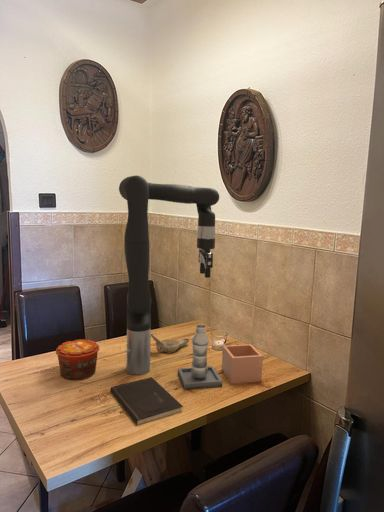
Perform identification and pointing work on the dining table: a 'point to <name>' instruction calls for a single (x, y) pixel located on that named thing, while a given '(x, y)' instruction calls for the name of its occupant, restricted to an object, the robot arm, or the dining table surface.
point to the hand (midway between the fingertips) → (204, 275)
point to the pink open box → (242, 363)
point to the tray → (193, 383)
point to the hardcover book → (145, 400)
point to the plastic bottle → (200, 353)
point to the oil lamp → (169, 344)
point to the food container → (77, 359)
